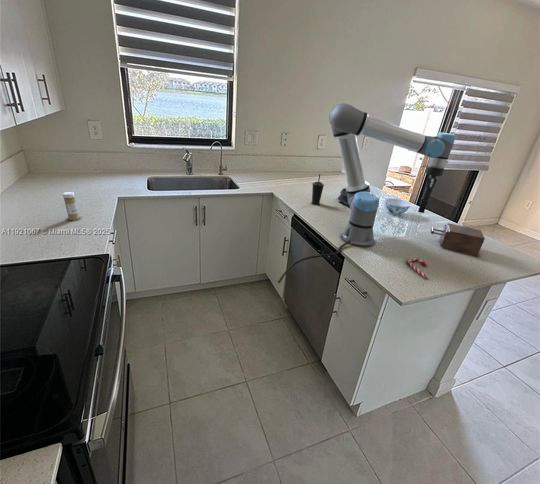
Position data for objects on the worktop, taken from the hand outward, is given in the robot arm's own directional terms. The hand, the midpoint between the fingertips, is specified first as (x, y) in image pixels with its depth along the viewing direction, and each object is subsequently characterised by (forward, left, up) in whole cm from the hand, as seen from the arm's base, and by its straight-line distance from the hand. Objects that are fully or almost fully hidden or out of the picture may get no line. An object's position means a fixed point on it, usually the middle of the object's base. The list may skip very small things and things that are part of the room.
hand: (420, 212), depth 149 cm
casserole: (+35, +41, -14) cm, 56 cm away
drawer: (-2, -17, -13) cm, 21 cm away
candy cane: (-37, -3, -14) cm, 39 cm away
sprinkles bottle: (-83, +155, -14) cm, 176 cm away
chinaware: (+31, +12, -14) cm, 36 cm away
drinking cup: (+17, +61, -14) cm, 65 cm away
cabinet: (-2, -21, -14) cm, 25 cm away
